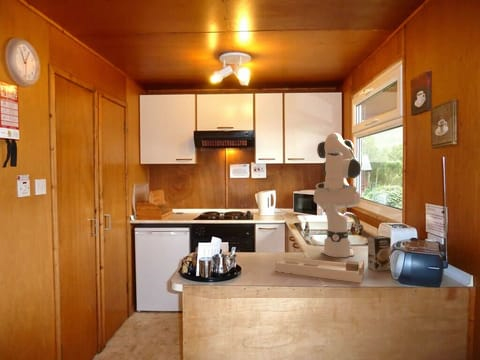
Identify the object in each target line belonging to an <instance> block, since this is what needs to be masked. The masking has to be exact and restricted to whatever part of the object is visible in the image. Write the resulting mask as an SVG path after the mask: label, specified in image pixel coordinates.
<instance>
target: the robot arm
mask: <svg viewBox="0 0 480 360" xmlns="http://www.w3.org/2000/svg"><path fill="white" fill-rule="evenodd" d="M327 135H328V136H327V137H326V138H325V140H322V141H321V142H319V143H318V144H317V147H316V154H317V155H318V157H319V158H320V159H325V161H324V162H323V163H322V168H323V169H322V175H324V176H325V177H324V179H325V180H324V181H321V182H320V183H316V185H315V190H314V192H313V202H314V204H316V205H317V206H318V207H320V208H321V209H322V212H323V213H325V215H326V220H327V231H326V238H324V242H323V243H324V245H323V250H321V254H324V255H326V256H329V257H335V258H347V257H354V256H355V253H354V249H353V248H352V246H351V241H350V239H349V231H348V218H347V216H346V215H344V214H346V213H347V210H348V209H347V208H354V207H357V206H358V205H359V204H360V202H361V199H362V197H361V194H360V192H359V190H357V187H356V186H355V185H353V184H349V183H348V180H347V178H348V179H356V178H357V177H359V176H360V175H361V171H362V169H361V163H360V161H359V160H358V159H357V157H356V155H355V153H354V144H353V142H352V140H351V139H343V137H342V136H341V135H340V134H339V133H336V132H332V133H330V134H327ZM337 208H343V209H342V212H339V211H338V210H337Z"/></svg>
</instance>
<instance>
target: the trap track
mask: <svg viewBox="0 0 480 360" xmlns="http://www.w3.org/2000/svg"><path fill="white" fill-rule="evenodd" d="M276 271H278V272H277V273H282V272H284V273H283V274H290V273H292V274H291V275H299V276H306V277H313V278H322V279H329V280H339V281H345V282H350V283H351V282H352V283H362V281H363V278H364V276H365V261H364V260H361V262H360V264H359V263H358V272H356V271H347V270H346V262H341V261H339V262H338V261H329V260H320V259H319V260H318V259H310V258H304V257H303V258H302V257H292V256H283V259H282V260H281V261H280V262H275V272H276Z"/></svg>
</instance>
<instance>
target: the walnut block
mask: <svg viewBox="0 0 480 360" xmlns="http://www.w3.org/2000/svg"><path fill="white" fill-rule="evenodd" d="M345 263H346V270H347V271H356V272H358V264H359V261H355V260H346V262H345Z"/></svg>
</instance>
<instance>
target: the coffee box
mask: <svg viewBox="0 0 480 360" xmlns="http://www.w3.org/2000/svg"><path fill="white" fill-rule="evenodd" d="M367 239H368V241H367V268H368V269H370V270H373V271H375V272H377V271H386V270H389V271H390V269H389V256H390V251H391V249H392V248H391V247H392V246H391V244H392V243H391V241H392V239H391V237H389V236H385V235H374V236H368V237H367ZM391 252H392V251H391Z"/></svg>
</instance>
